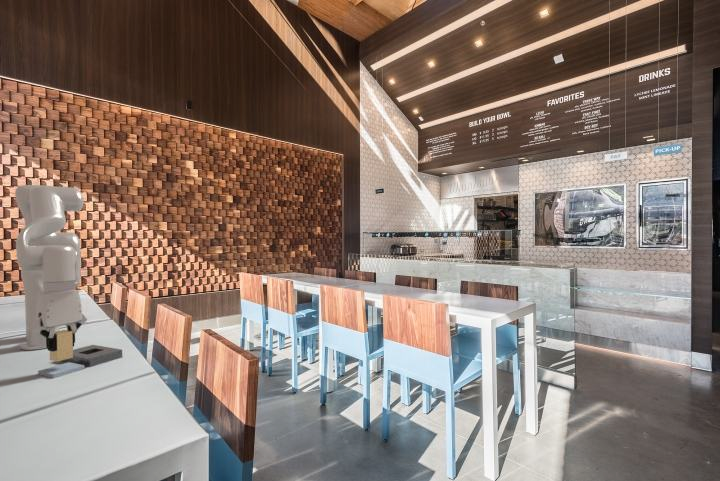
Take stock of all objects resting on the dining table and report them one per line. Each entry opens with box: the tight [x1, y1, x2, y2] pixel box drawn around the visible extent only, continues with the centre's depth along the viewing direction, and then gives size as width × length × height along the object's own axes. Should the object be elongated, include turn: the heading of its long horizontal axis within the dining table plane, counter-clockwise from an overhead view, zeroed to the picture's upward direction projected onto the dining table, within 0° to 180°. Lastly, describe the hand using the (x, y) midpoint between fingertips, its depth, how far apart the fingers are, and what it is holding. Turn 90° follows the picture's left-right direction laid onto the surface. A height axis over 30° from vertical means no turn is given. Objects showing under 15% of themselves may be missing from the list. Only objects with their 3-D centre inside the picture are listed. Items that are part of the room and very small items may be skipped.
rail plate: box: [61, 344, 123, 368], centre depth 121 cm, size 16×10×2 cm, turn 66°
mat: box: [37, 362, 85, 379], centre depth 110 cm, size 8×8×1 cm
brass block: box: [49, 329, 74, 362], centre depth 110 cm, size 4×4×8 cm
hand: (61, 347), depth 110 cm, fingers closed on brass block, 4 cm apart
